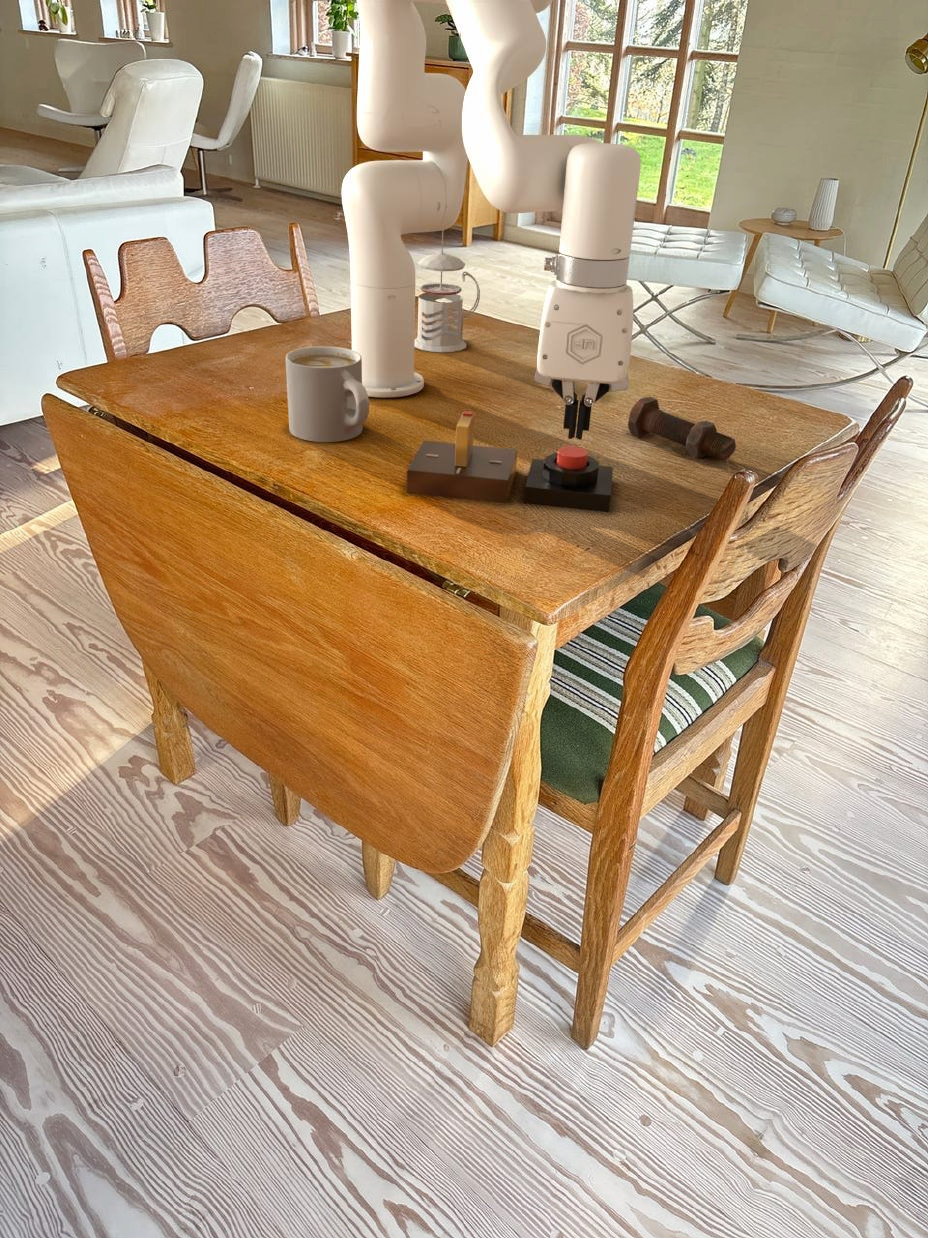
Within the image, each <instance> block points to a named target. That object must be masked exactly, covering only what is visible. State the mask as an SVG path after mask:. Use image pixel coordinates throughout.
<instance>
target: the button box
mask: <svg viewBox="0 0 928 1238" xmlns="http://www.w3.org/2000/svg"><path fill="white" fill-rule="evenodd" d="M557 453H558V452H553V453H551V454H548V455H547V456H545V457H544V459H538V458H532V459H531V463H530V465H529V466H530V467H529V471H528V475H527V478H526V481H525V485H524V495H523V504H524V505H525V504H526V505H536V506H545V507H553V508H562V509H563V508H564V509H573V510H581V511H582V510H583V511H592V512H601V513H609V512H610V507H611V506H610V505H611V498H612V485H613V471H614V470H613V469H614V467H613V466H609V465H600V462H599V461H598V460H597V459H595V458H594V457H593V456H590V455H588V458H587V466H586V468H584V469H566V468H563V467H560V466H558V465H557V464H556V463H557Z"/></svg>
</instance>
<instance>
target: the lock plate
mask: <svg viewBox="0 0 928 1238" xmlns="http://www.w3.org/2000/svg"><path fill="white" fill-rule="evenodd" d="M455 449H456V443H452V442H443V441H442V442H441V441H434V440H423V441H422V442H421V444H420V446H419V448H418V449H417V451H416V453H415V455H414V457H413V458H412V460H411V462H410V464H409V466H408V468H407V469H406V493H407V494H414V495H421V496H422V495H423V496H430V497H431V496H433V497H442V498H453V499H459V500H460V499H463V500H471V501H478V502H479V501H480V502H488V503H489V502H490V503H499V504H507V503H508V499H509V496H510V493H511V490H512V486H513V482H514V479H515V475H516V473H517V460H518V449H514V448H503V447H493V446H484V445H474V444H473V452H472V455H471V457H470V459H469V462H468V464H467V466H466V467H461V466H455Z"/></svg>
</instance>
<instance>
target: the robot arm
mask: <svg viewBox="0 0 928 1238" xmlns="http://www.w3.org/2000/svg"><path fill="white" fill-rule="evenodd" d="M553 1H554V0H356V5H357V10H358V11H357V12H358V18H359V32H360V33H359V35H360V36H359V51H358V53H359V54H358V76H357V99H356V101H357V102H356V127H357V133H358V136H359V138H360V141H361V142H362V143H363V144H364V146H366V147H368V148H369V149H371V150H374V151H377V152H384V153H422V159H416V160H415V159H413V160H412V159H411V160H410V159H409V160H408V159H407V160H403V159H391V160H389V159H388V160H387V159H386V160H373V161H365V162H362V163H359V164H357V165H355V166H353V167H352V168H350V170H349V171H348V172H347V173H346V174H345V176H344V178H343V181H342V184H341V204H342V210H343V214H344V219H345V221H344V222H345V225H346V232H347V239H348V248H349V249H348V250H349V271H350V272H349V274H350V275H349V276H350V281H349V282H350V318H351V319H350V320H351V321H350V325H351V327H350V328H351V350H353V351H355V352H357V353H359V354H360V355H361V358H362V385H363V386H364V387H365V389H366V391H367V394H368V398H369V397H370V398H379V399H381V398H382V399H383V398H384V399H386V398H387V399H388V398H401V397H407V396H412V395H414V394H417V393H419V392H421V391H422V390H423V388H425V387H424V386H425V378H424V376H422V375H421V374H420V373H418V372H416V371H415V349H416V347H415V339H416V336H415V335H416V332H415V331H416V266H415V261H414V259H413V257H412V254H411V253H410V251H409V250H408V249H407V246H406V245H405V243H404V241H403V239H402V235H408V234H416V233H430V232H431V233H432V232H439V231H441V232H442V230H444V231H445V230H448V229H449V228H451V227H452V226H453V225H455V223H456V222H457V220H458V219H459V216H460V214H461V210H462V206H463V200H464V194H465V186H466V176H467V170H468V169H467V168H468V162H469V164H470V166H471V169H472V172H473V174H474V176H475V180H476V182H477V184H478V186H479V188H480V190H481V192H482V194H483V195H484V197H485V198H486V200H487V202H489V204H490V205H492V206H493V208H495V209H497V210H498V211H500V212H503V213H506V214H529V213H544V212H545V213H546V212H562V214H561V216H562V217H561V226H560V236H559V247H558V248H559V249H558V254H555V256H552V257H545V258H544V266H543V271H548V272H550V273H554V274H553V275H554V276H556V277H555V278H556V279H554V280H552V281H551V282H550V283H549V284H548V287H547V290H546V295H545V300H544V303H543V309H542V315H541V322H540V330H539V337H538V344H537V345H538V346H537V358H536V370H535V374H534V376H533V380H534V382H535V383H537V384H540V385H543V386H546V387H551V388H552V389H554V392H555V393H557V395H558V396H559V398H561V399H562V403H564V405H565V406H564V416H563V425H562V426H563V427H562V428H563V429H565V430H568V436H567V439H570V440H573V439H574V438H575V439H576V440H579V441H582V440H583V433H584V432H589V431H590V424H591V416H592V407H593V406H594V405H595V403H597V401H599V400H600V399H602V397H604V396H605V395H606V394H608V393H614V392H621V391H627V389H628V388H629V374H628V373H629V369H630V361H631V353H632V341H633V340H632V339H633V328H634V327H633V326H634V292H633V288H632V287H631V286H630V285H628V283H627V281H628V273H629V266H630V256H631V250H632V241H633V234H634V233H633V232H634V225H635V217H636V208H637V202H638V201H637V198H638V193H639V186H640V185H639V184H640V175H641V165H642V161H641V156H640V154H639V152H638V151H637V149H635V148H634V147H632V146H629V145H625V144H620V143H619V144H618V143H611V142H610V143H608V142H601V141H599V140H597V139H594V138H592V137H589V136H585V135H580V134H515V132H514V130H513V128H512V126H511V124H510V123H511V122H510V121H509V118H508V116H507V113H506V111H505V108H504V106H503V101H502V97H501V95H503V94H506V93H507V92H509V91H510V90H512V89H514V88H516V87H518V86H519V85H520V84H522V83H523V82H525V81H526V80H528V79H529V77H531V76H532V75H533V73H534V72H535V71H536V70H537V69H538V68H539V66H540V65H541V64H542V62H543V60H544V58H545V56H546V52H547V51H546V50H547V38H546V34H545V32H544V29H543V27H542V25H541V23H540V20H539V17H538V15H537V14H539V13H541V12H544V11H545V10H546V9H547V8H548V7H549V6H550V5H551V4H552V2H553ZM414 3H426V4H427V3H428V4H435V5H446V6H447V8H448V10H449V13H450V15H451V18H452V20H453V22H454V25H455V27H456V30H457V33H458V36H459V38H460V40H461V43H462V46H463V47H464V50H465V54H466V56H467V58H468V61H469V64H470V66H471V69H472V71H473V73H472V76H471V77H470V79H469V82H468V84H467V86H466V88H465V87H464V85H463V83H462V82H461V81H460V80H459V79H457V78H456V77H455V76H452V75H450V74H445V73H438V72H434V73H433V72H425V71H426V70H425V68H426V67H425V66H426V65H425V63H426V53H427V32H426V29H425V26H424V23H423V21H422V18H421V16H420V13H419V11H418V10H417V7H416V6H415V4H414ZM575 382H581V383H582V382H583V383H587V385H586V389H585V393H583V394H582V396H581V399H580V400H579V399H578V394H577V393H576V385H575V384H576V383H575Z"/></svg>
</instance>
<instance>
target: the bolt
mask: <svg viewBox="0 0 928 1238" xmlns="http://www.w3.org/2000/svg"><path fill="white" fill-rule="evenodd" d="M627 420H628V421H627V428H628V430H629V433H630V434H631V436H633V437H635V438H637V439H639V438H643V437H645V436H649V435H656V436H658V437H660V438H664V439H667V440H668V441H671V442H675V443H677V444H679V445H682V446H684V447H685V448H686V451H687V454H688V455H689V456H691V457H693V458H696V459H699V458H704V457H706V456H709V457H712V458H714V459H716V460H719V461H722V462H723V461H726V460H728V459H730V458H731V457H732V455H733V454H734V453H735V451H736V448H737V444H736V439H735V438H733V437H732V436H729V435H726V434H724V433H720V432H718V430H717V427H716V425H715V423H714V422H711V421H708V420H702V421H698V422H697V423H694V422H692V421H689V420H686V419H684V418H680V417H678V416H675V415H673V414H670V413H667V412H664V410H661V409H660V405H659V401H658V399H657V398H655V397H652V396H646V397H645V396H644V397H642V398H639V399H638V400H637V401H636V403H634V405H633V406H632V407H631V409H630V411H629V414H628V419H627Z"/></svg>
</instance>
